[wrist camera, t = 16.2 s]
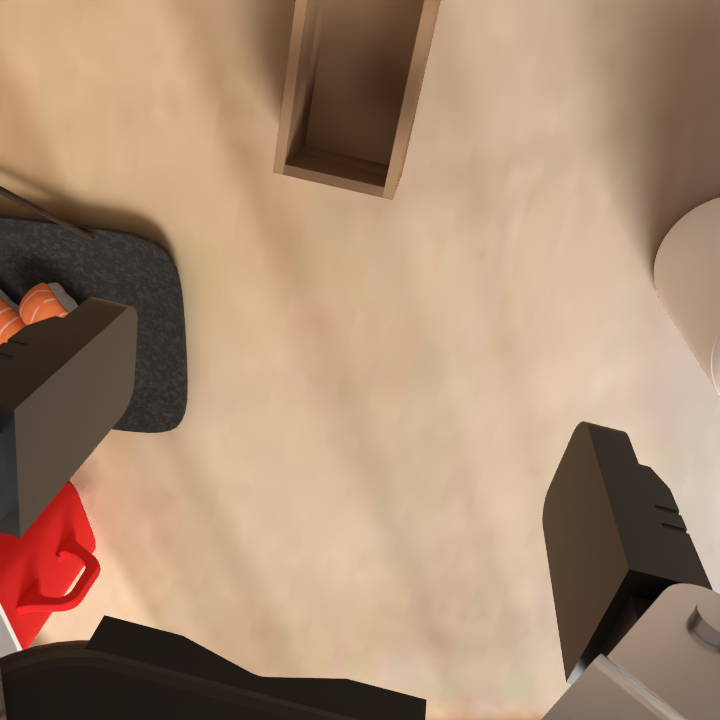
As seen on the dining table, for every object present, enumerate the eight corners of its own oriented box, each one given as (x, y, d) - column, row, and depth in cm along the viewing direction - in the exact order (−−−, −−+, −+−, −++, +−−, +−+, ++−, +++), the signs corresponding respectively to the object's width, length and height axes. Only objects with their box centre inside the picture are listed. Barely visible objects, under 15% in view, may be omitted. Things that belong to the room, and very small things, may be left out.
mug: (13, 555, 57) (-76, 664, 47) (-23, 474, 53) (-127, 575, 44) (147, 556, 55) (82, 670, 45) (119, 472, 51) (42, 578, 42)
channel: (401, 175, 38) (392, 199, 33) (297, 151, 38) (272, 172, 33) (441, -5, 34) (437, -7, 29) (324, -31, 34) (300, -37, 29)
